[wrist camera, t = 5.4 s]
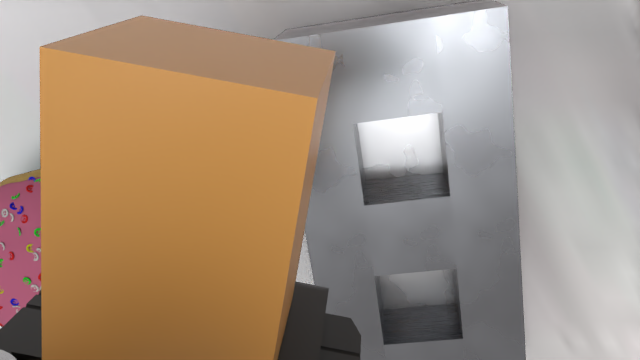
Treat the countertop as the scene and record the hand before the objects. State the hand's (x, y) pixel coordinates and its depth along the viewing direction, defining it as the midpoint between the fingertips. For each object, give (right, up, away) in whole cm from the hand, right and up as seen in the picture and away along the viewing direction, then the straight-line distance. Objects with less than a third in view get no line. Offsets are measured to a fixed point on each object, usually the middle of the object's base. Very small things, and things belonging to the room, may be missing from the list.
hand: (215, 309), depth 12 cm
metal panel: (+6, +1, +18) cm, 19 cm away
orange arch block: (0, +1, +3) cm, 3 cm away
